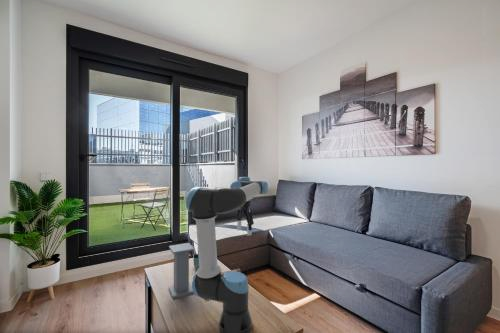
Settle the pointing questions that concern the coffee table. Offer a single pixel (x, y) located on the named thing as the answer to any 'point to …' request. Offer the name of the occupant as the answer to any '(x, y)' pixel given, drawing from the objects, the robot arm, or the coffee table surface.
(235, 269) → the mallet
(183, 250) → the plinth
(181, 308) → the coffee table surface
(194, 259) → the flower pot
